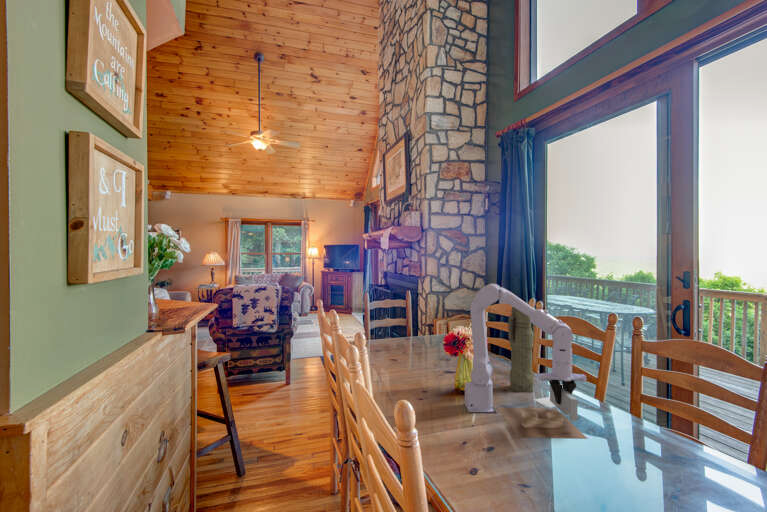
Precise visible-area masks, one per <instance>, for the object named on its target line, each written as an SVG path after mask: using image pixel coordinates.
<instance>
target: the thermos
mask: <svg viewBox="0 0 767 512" xmlns="http://www.w3.org/2000/svg"><path fill="white" fill-rule="evenodd" d="M526 303H527V304H528V305H530V304H529V303H528V302H526ZM530 306H531V305H530ZM511 307H512V308H511V315H509V316H508V321H507V325H508V327H507V329H508V332H507V334H508V335H507V336H508V341H509V345H510V348H511V349H510V352H511V353H510V354H511V355H510V356H511V357H510V360H511V362H510V365H511V368H510V371H509V384H510V388H511V389H512V390H513V392H514V391H515V392H514V393H528V394H529V393H534V385H535V384H534V383H535V382H534V381H535V376H534V375H535V374H534V372H533V348H534V340H535V325H534V324H532V323H531V321H530V317H529V316H527V315H526V314H524V313H522V312H521V311H519V310H518V309H516V308H515V307H513V306H511ZM511 389H510V390H511ZM512 390H511V391H512Z"/></svg>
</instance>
